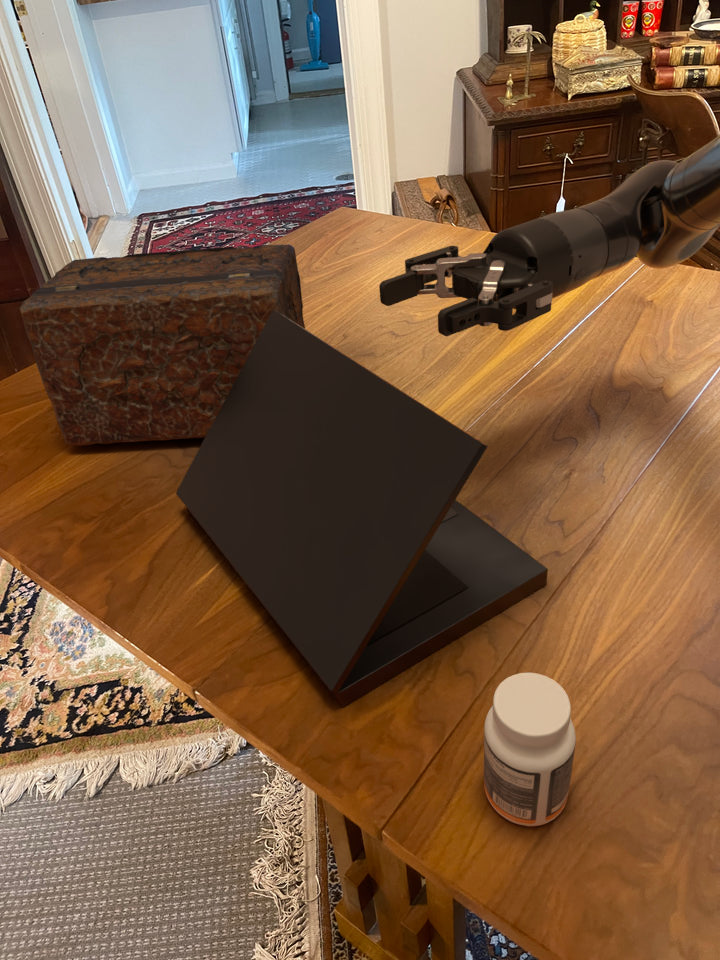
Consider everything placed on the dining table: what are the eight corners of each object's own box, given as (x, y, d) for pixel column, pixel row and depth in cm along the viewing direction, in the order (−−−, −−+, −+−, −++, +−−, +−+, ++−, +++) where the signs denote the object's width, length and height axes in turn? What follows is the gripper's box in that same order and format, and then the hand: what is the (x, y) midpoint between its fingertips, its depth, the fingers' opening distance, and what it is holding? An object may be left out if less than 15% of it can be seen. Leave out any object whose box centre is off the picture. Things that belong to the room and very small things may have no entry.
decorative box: (101, 395, 105) (55, 462, 88) (62, 252, 95) (1, 296, 78) (314, 378, 105) (310, 443, 87) (298, 233, 94) (290, 273, 77)
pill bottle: (540, 742, 54) (549, 653, 48) (583, 813, 49) (599, 724, 43) (469, 768, 52) (469, 680, 47) (507, 843, 48) (512, 756, 42)
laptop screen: (279, 312, 75) (272, 309, 74) (489, 446, 53) (482, 443, 52) (182, 495, 79) (175, 493, 78) (339, 692, 56) (330, 692, 56)
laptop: (355, 436, 89) (353, 421, 87) (546, 584, 66) (548, 568, 65) (186, 509, 80) (182, 494, 79) (341, 708, 58) (339, 691, 56)
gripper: (496, 203, 73) (360, 246, 66) (609, 236, 63) (463, 291, 56) (494, 276, 77) (367, 323, 71) (600, 317, 67) (463, 377, 61)
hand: (410, 309), depth 63 cm, fingers open, 8 cm apart
